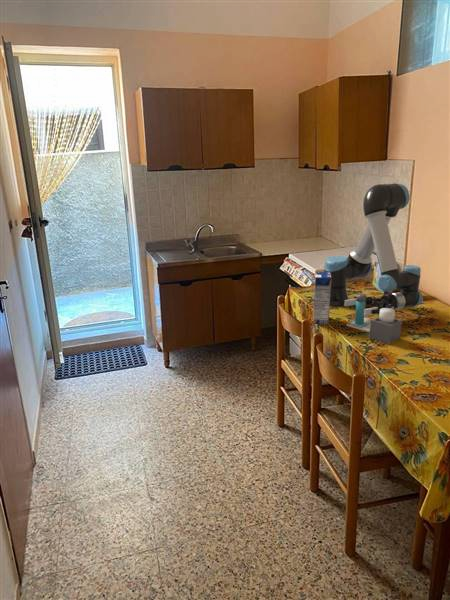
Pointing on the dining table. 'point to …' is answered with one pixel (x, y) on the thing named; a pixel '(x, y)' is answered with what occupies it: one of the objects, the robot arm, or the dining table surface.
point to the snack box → (376, 277)
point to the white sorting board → (361, 327)
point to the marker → (360, 309)
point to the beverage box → (322, 298)
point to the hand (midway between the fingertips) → (354, 307)
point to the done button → (387, 315)
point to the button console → (385, 330)
